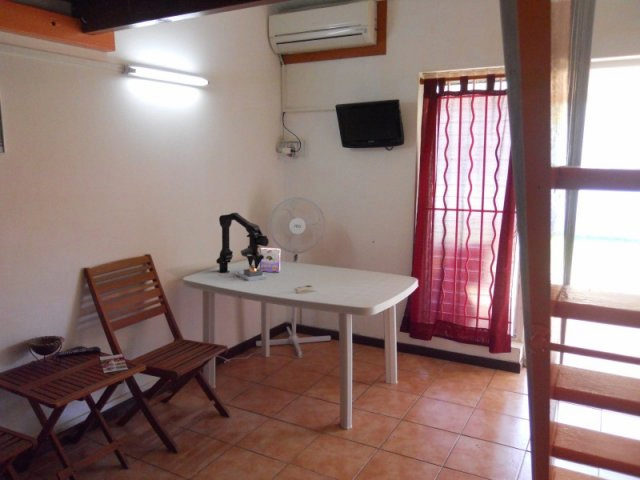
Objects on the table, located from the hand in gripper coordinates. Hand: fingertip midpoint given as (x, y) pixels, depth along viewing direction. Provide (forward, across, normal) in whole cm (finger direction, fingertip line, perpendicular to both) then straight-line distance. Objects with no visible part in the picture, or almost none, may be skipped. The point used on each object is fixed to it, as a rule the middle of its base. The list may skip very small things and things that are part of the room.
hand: (253, 267), depth 330 cm
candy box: (+7, -12, +20) cm, 24 cm away
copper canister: (+7, 0, 0) cm, 7 cm away
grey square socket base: (+7, -2, 0) cm, 7 cm away
